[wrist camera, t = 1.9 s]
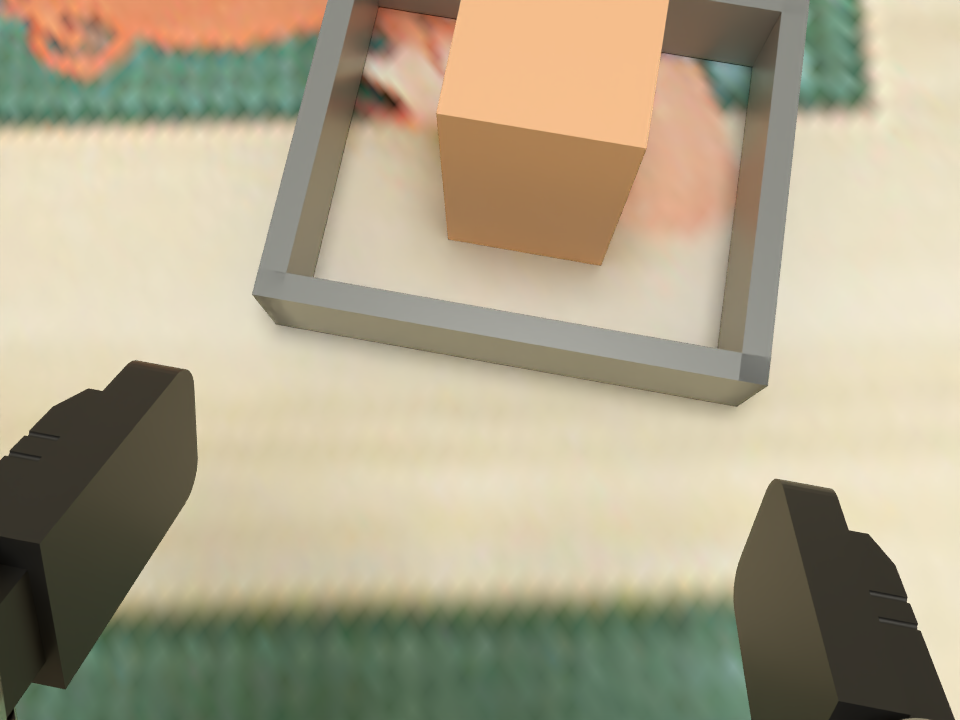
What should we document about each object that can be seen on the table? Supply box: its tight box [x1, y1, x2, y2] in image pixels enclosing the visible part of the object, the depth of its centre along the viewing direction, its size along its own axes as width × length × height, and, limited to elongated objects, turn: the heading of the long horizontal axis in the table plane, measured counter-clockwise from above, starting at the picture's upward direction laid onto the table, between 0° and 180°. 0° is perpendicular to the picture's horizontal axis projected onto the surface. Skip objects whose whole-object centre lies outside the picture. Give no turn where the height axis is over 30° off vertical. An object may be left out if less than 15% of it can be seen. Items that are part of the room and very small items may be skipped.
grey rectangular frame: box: [252, 0, 809, 406], centre depth 28 cm, size 15×13×3 cm
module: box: [436, 0, 669, 266], centre depth 25 cm, size 5×5×8 cm
